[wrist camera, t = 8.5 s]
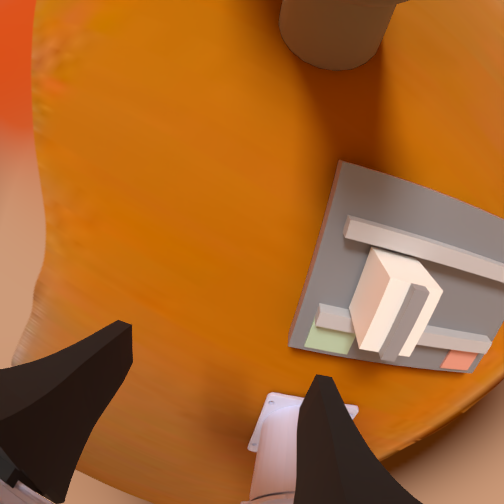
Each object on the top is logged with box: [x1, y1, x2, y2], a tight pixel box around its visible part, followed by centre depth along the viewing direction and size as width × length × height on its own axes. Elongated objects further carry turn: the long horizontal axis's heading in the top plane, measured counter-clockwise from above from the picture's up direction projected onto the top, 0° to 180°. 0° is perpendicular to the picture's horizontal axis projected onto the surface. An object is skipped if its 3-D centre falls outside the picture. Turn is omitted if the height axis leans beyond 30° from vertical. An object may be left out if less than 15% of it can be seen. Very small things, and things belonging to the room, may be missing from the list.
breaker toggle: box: [349, 246, 443, 362], centre depth 15 cm, size 4×3×5 cm
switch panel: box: [288, 160, 504, 373], centre depth 17 cm, size 12×16×2 cm
